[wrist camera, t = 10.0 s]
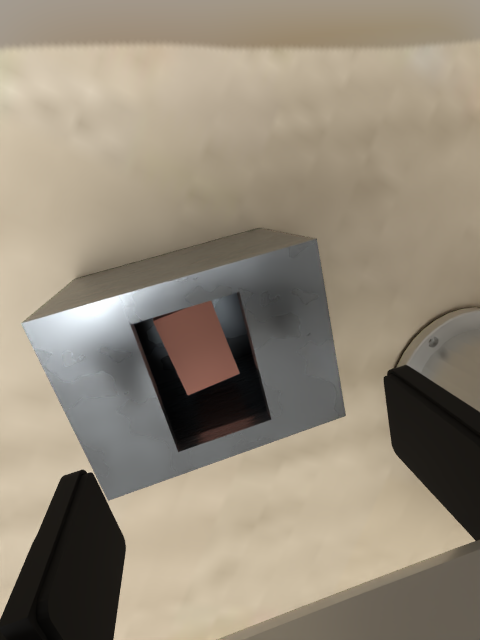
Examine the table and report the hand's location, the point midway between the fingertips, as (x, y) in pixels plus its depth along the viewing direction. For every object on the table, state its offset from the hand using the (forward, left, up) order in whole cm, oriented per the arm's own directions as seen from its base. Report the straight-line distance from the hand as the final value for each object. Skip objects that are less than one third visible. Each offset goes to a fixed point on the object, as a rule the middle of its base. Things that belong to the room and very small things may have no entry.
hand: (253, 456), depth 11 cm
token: (+1, -1, -14) cm, 14 cm away
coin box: (+1, 0, -14) cm, 14 cm away
